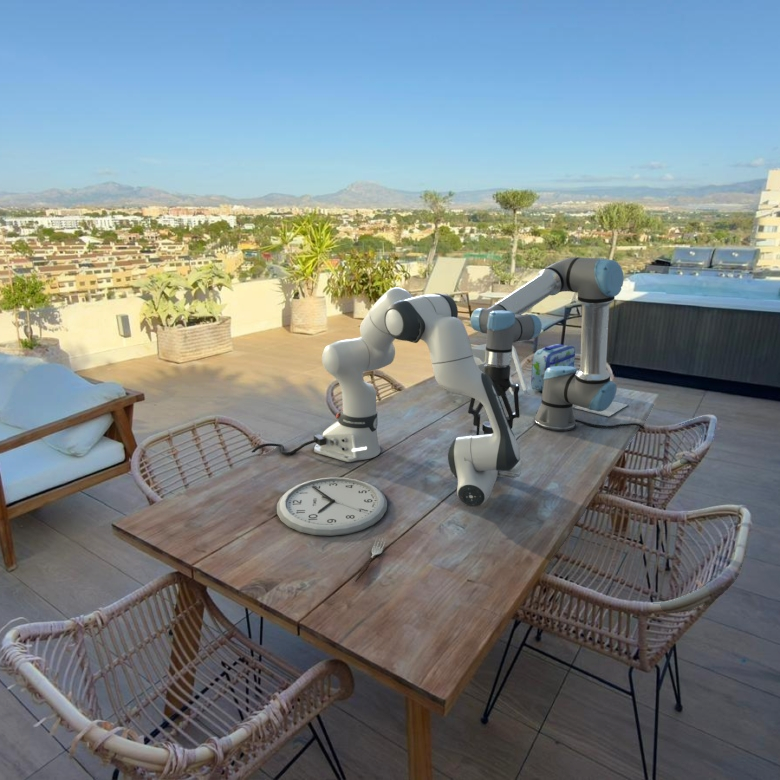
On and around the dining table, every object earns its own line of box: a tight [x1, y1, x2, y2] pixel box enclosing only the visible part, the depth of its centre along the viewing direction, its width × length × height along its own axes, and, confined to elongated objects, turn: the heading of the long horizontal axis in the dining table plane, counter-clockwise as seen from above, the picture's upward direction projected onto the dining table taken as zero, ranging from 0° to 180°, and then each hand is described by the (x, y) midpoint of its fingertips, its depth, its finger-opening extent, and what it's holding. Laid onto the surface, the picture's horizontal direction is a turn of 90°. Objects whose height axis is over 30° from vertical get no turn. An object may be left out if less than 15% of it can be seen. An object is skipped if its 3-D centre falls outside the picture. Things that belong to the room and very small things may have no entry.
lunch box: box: [530, 343, 576, 392], centre depth 248 cm, size 26×11×21 cm, turn 134°
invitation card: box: [573, 400, 629, 418], centre depth 226 cm, size 21×1×15 cm
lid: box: [481, 420, 494, 434], centre depth 158 cm, size 6×6×2 cm
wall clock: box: [276, 476, 388, 537], centre depth 142 cm, size 30×2×30 cm
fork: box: [354, 536, 387, 583], centre depth 118 cm, size 3×16×2 cm, turn 160°
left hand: (490, 452), depth 162 cm, fingers closed on jar, 5 cm apart
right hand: (491, 436), depth 159 cm, fingers open, 8 cm apart
